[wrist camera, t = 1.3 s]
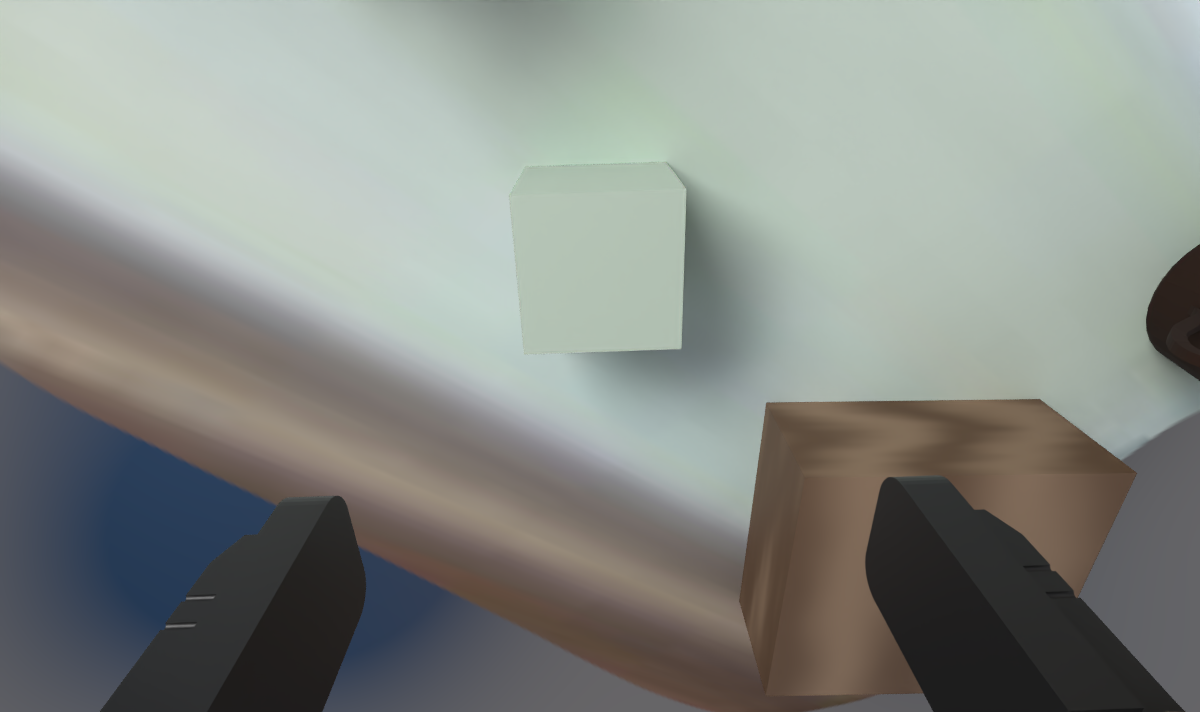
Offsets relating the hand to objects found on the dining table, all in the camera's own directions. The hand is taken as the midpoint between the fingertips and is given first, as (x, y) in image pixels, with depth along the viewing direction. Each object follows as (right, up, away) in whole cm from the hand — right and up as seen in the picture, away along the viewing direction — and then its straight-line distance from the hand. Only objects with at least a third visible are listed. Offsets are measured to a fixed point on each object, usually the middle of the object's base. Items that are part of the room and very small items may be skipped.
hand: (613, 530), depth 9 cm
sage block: (0, +8, +16) cm, 18 cm away
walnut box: (+14, -5, +23) cm, 27 cm away
